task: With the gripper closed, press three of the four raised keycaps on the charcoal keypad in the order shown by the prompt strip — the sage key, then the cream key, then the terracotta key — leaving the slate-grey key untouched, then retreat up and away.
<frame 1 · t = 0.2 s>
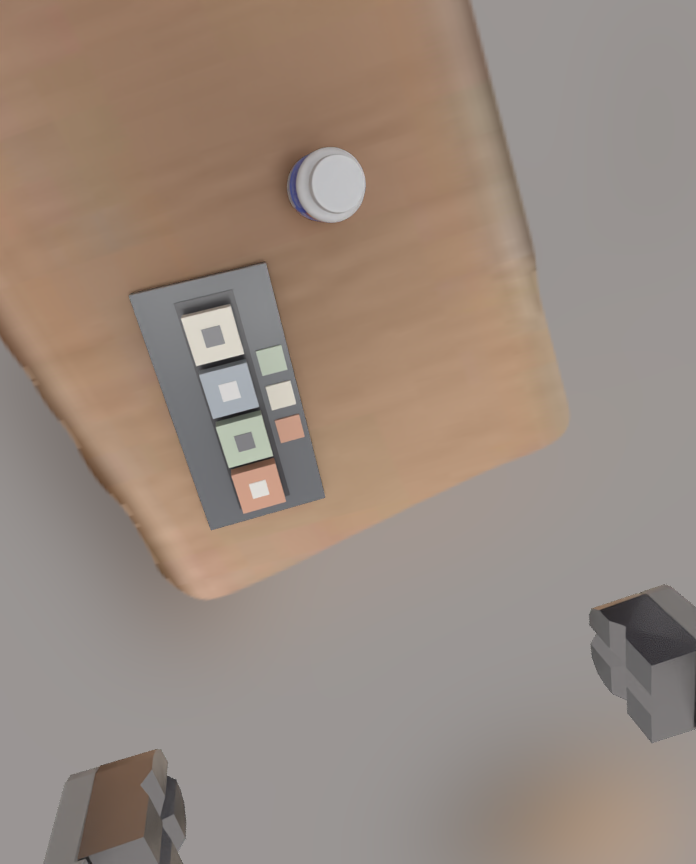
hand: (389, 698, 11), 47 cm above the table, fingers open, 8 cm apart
terracotta key: (258, 485, 57), point 4 cm above the table, slide at 0.0 cm
sage key: (244, 439, 55), point 4 cm above the table, slide at 0.0 cm
pill bottle: (317, 187, 52), on the table
slate key: (229, 389, 53), point 4 cm above the table, slide at 0.0 cm
cream key: (213, 335, 51), point 4 cm above the table, slide at 0.0 cm
keypad base: (236, 402, 57), on the table
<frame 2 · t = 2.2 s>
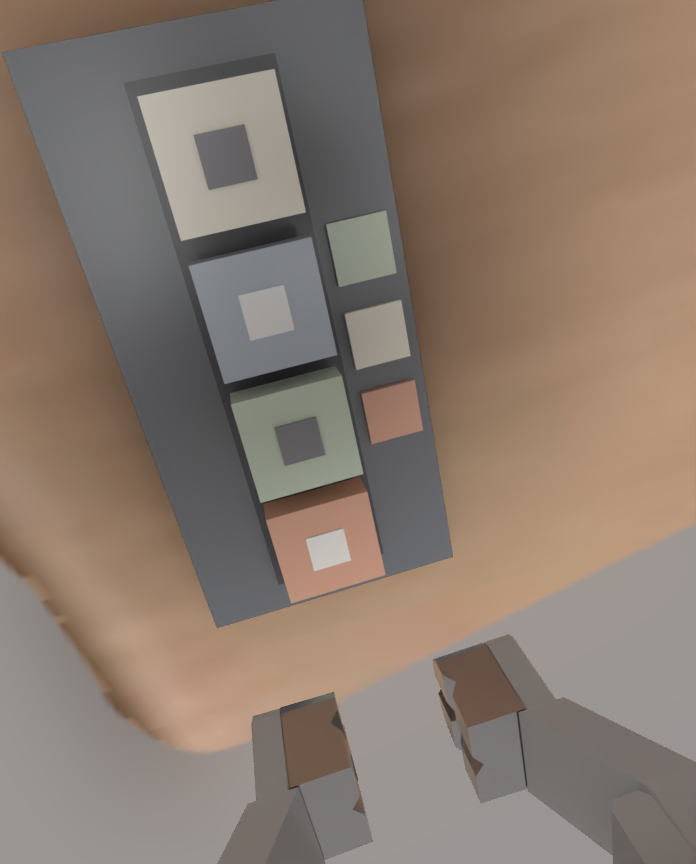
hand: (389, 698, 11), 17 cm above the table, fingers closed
terracotta key: (325, 540, 25), point 4 cm above the table, slide at 0.0 cm
sage key: (298, 434, 23), point 4 cm above the table, slide at 0.0 cm
slate key: (265, 309, 21), point 4 cm above the table, slide at 0.0 cm
cream key: (226, 159, 19), point 4 cm above the table, slide at 0.0 cm
keypad base: (274, 352, 26), on the table
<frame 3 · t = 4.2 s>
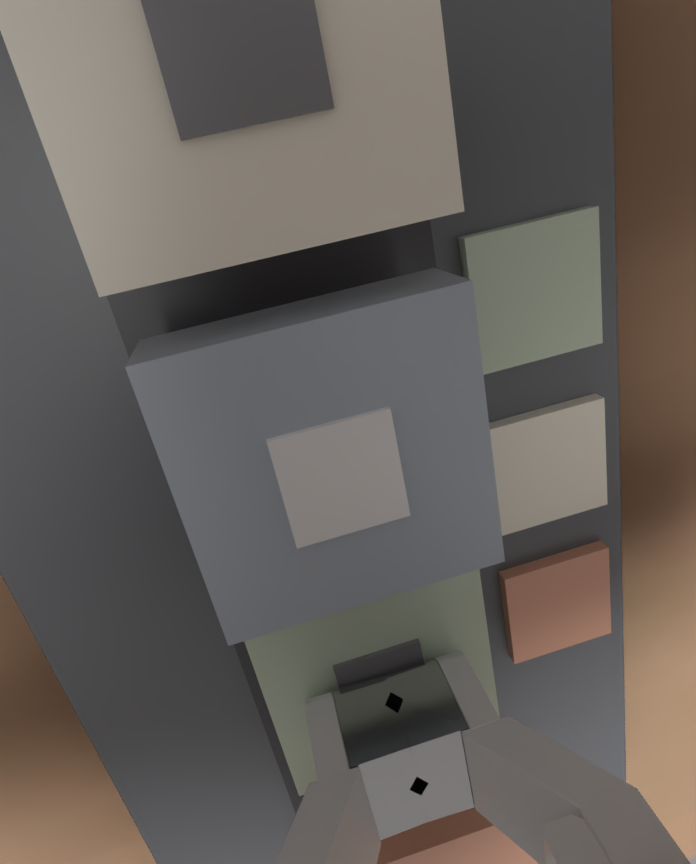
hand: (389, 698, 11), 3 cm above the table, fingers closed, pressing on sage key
sage key: (375, 659, 12), point 2 cm above the table, slide at 1.2 cm, touching gripper
slate key: (332, 457, 8), point 4 cm above the table, slide at 0.0 cm
cream key: (234, 49, 6), point 4 cm above the table, slide at 0.0 cm
keypad base: (327, 494, 13), on the table
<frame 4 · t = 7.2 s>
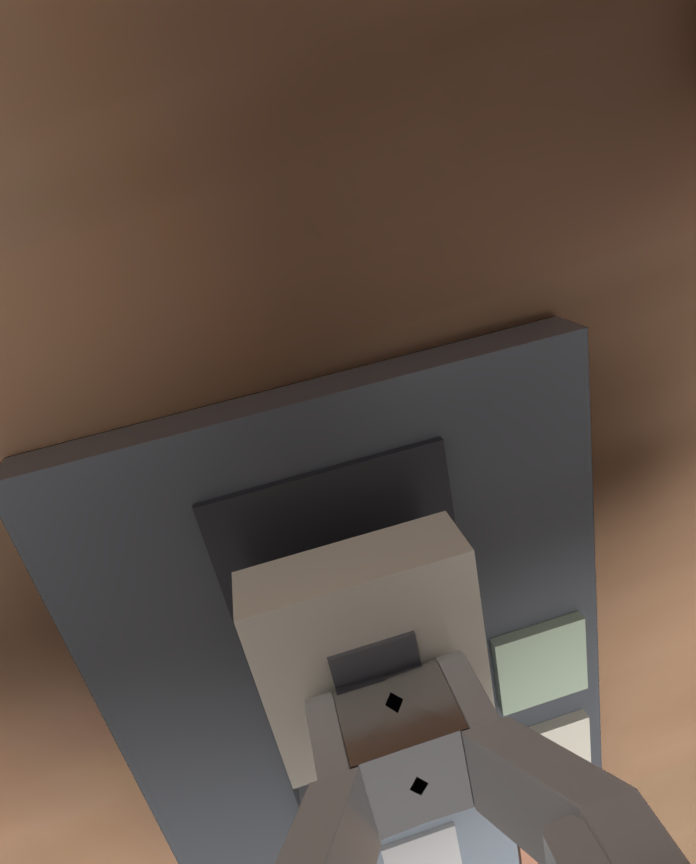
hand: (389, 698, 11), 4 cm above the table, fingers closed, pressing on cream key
slate key: (413, 827, 13), point 4 cm above the table, slide at 0.0 cm
cream key: (370, 651, 11), point 3 cm above the table, slide at 0.3 cm, touching gripper
keypad base: (389, 763, 17), on the table
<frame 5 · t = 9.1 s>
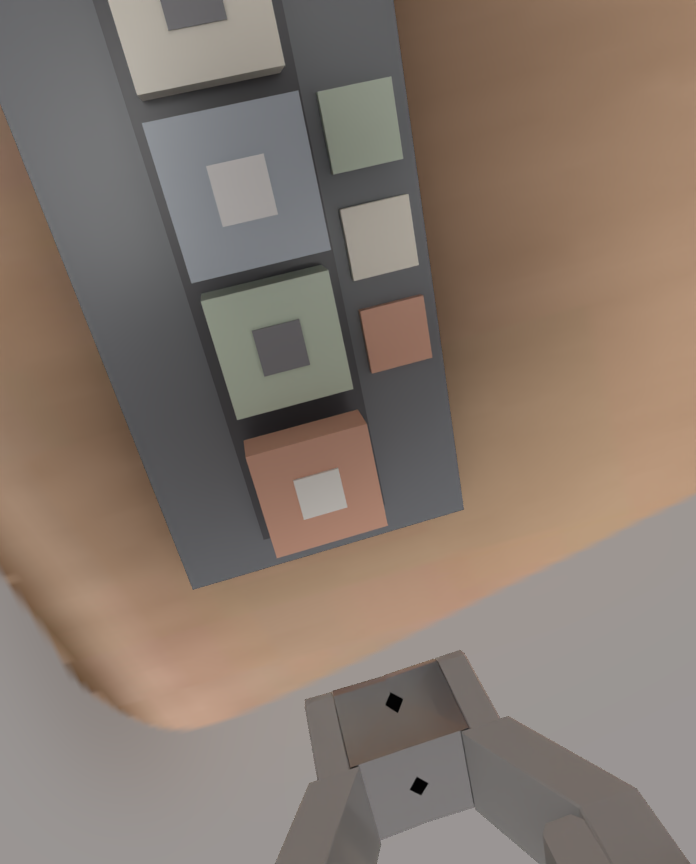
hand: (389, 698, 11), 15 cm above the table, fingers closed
terracotta key: (317, 484, 21), point 4 cm above the table, slide at 0.0 cm
sage key: (279, 342, 21), point 2 cm above the table, slide at 1.4 cm, touching keypad base
slate key: (241, 190, 17), point 4 cm above the table, slide at 0.0 cm
keypad base: (256, 261, 21), on the table
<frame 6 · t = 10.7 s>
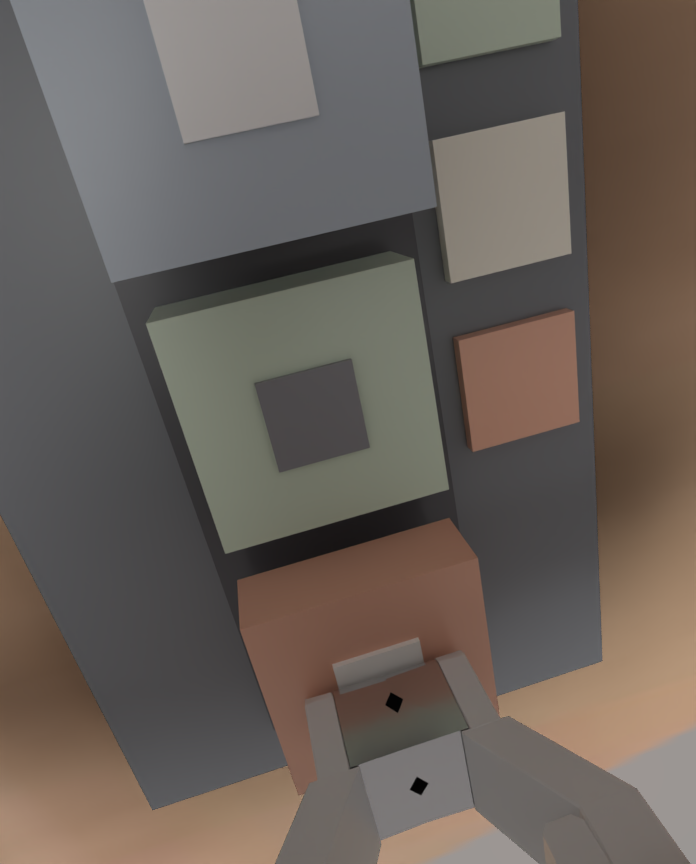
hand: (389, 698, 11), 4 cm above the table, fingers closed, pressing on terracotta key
terracotta key: (374, 658, 11), point 3 cm above the table, slide at 0.3 cm, touching gripper
sage key: (308, 403, 10), point 2 cm above the table, slide at 1.4 cm, touching keypad base
slate key: (231, 62, 7), point 4 cm above the table, slide at 0.0 cm
keypad base: (263, 248, 11), on the table
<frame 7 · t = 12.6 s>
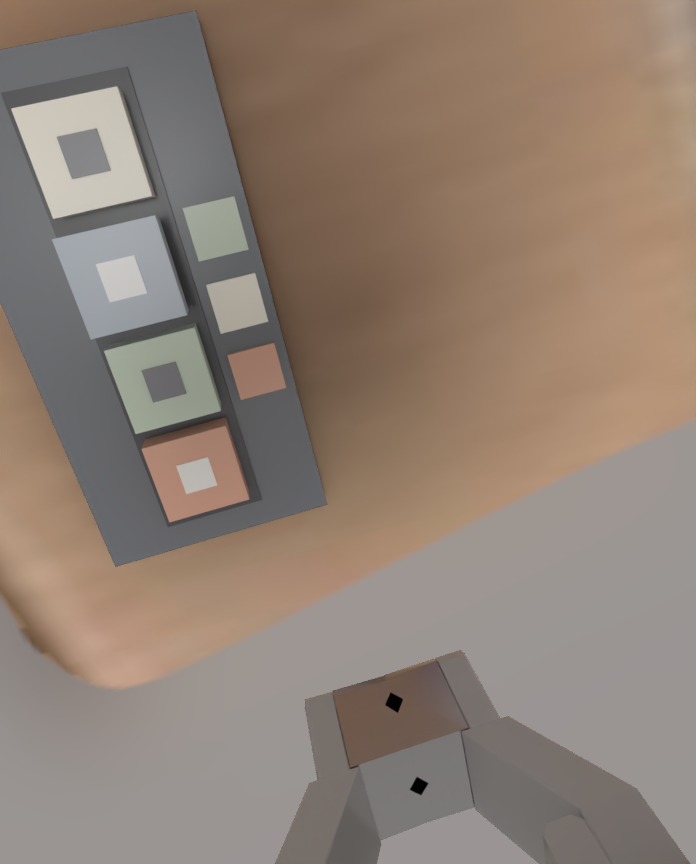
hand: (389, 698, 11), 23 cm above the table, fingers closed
terracotta key: (197, 470, 31), point 2 cm above the table, slide at 1.4 cm, touching keypad base
sage key: (165, 378, 29), point 2 cm above the table, slide at 1.4 cm, touching keypad base
slate key: (124, 277, 26), point 4 cm above the table, slide at 0.0 cm
cream key: (87, 155, 25), point 2 cm above the table, slide at 1.4 cm, touching keypad base
keypad base: (153, 321, 30), on the table
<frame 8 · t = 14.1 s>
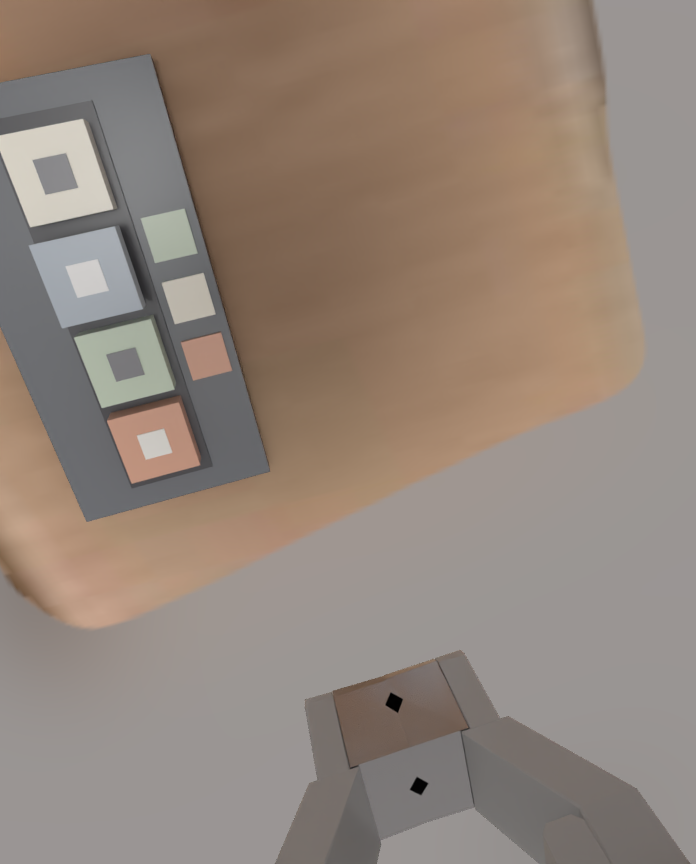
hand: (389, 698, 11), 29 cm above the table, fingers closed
terracotta key: (155, 439, 36), point 2 cm above the table, slide at 1.4 cm, touching keypad base
sage key: (127, 361, 34), point 2 cm above the table, slide at 1.4 cm, touching keypad base
slate key: (90, 276, 31), point 4 cm above the table, slide at 0.0 cm
cream key: (59, 174, 30), point 2 cm above the table, slide at 1.4 cm, touching keypad base
keypad base: (117, 312, 35), on the table
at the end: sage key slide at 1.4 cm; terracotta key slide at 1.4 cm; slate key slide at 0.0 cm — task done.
